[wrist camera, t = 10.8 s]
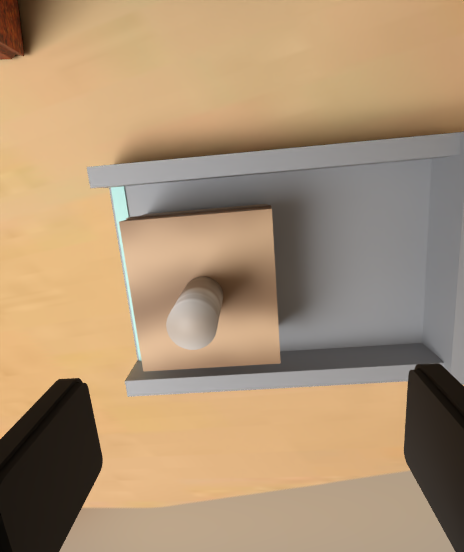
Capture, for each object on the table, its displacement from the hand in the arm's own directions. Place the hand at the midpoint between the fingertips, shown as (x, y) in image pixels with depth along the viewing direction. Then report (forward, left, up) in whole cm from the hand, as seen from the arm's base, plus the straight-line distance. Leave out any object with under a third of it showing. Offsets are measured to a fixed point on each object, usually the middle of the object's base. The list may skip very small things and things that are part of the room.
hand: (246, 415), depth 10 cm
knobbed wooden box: (+1, -3, -23) cm, 24 cm away
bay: (+1, +3, -25) cm, 25 cm away
